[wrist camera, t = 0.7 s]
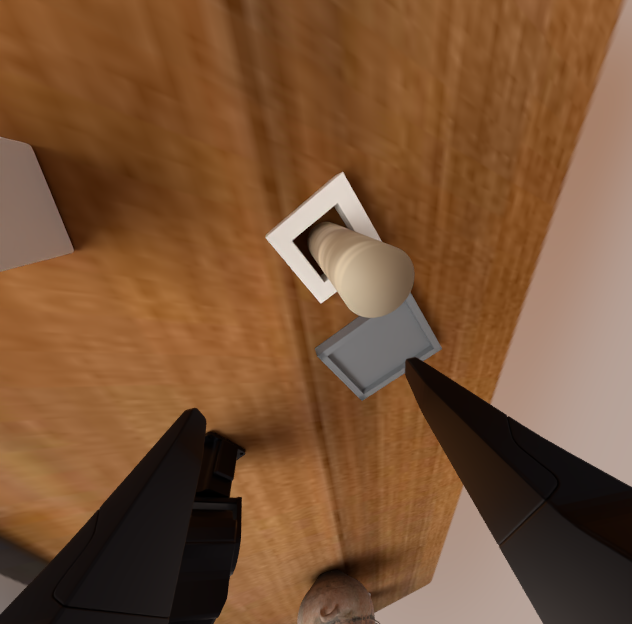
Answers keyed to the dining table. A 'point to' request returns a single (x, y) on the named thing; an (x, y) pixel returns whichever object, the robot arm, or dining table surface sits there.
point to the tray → (378, 348)
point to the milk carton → (27, 210)
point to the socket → (305, 215)
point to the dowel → (362, 269)
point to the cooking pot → (336, 601)
